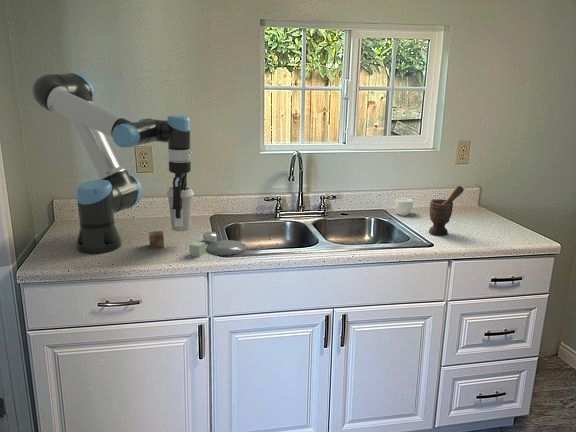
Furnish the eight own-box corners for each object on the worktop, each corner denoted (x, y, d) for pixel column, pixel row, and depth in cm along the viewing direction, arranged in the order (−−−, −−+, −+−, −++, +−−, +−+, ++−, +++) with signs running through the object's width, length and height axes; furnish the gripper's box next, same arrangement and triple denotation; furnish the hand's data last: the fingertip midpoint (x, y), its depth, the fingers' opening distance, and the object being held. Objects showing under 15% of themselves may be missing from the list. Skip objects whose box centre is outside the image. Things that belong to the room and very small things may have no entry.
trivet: (204, 255, 185) (204, 253, 185) (209, 242, 198) (209, 240, 198) (244, 255, 185) (244, 253, 185) (247, 242, 198) (247, 240, 198)
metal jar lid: (202, 243, 197) (202, 236, 196) (204, 239, 202) (204, 231, 201) (215, 243, 197) (215, 236, 196) (217, 239, 202) (217, 231, 201)
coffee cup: (188, 234, 187) (187, 192, 183) (163, 231, 189) (162, 190, 185) (198, 226, 196) (197, 186, 192) (174, 223, 198) (173, 184, 194)
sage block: (189, 255, 185) (189, 244, 184) (195, 251, 188) (195, 241, 187) (199, 257, 183) (199, 246, 182) (205, 253, 187) (205, 242, 186)
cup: (396, 216, 234) (397, 201, 232) (391, 210, 243) (392, 196, 241) (413, 216, 234) (414, 202, 232) (408, 210, 243) (409, 196, 241)
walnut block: (150, 249, 190) (149, 236, 189) (149, 244, 195) (148, 231, 194) (164, 248, 192) (163, 235, 190) (163, 243, 196) (162, 230, 195)
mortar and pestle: (452, 230, 216) (458, 182, 210) (460, 236, 208) (466, 187, 202) (424, 230, 216) (429, 182, 210) (431, 237, 207) (436, 187, 202)
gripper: (185, 167, 176) (186, 232, 182) (195, 155, 195) (195, 214, 202) (162, 166, 175) (164, 231, 182) (174, 154, 195) (176, 214, 202)
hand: (180, 222), depth 192 cm, fingers closed on coffee cup, 8 cm apart
